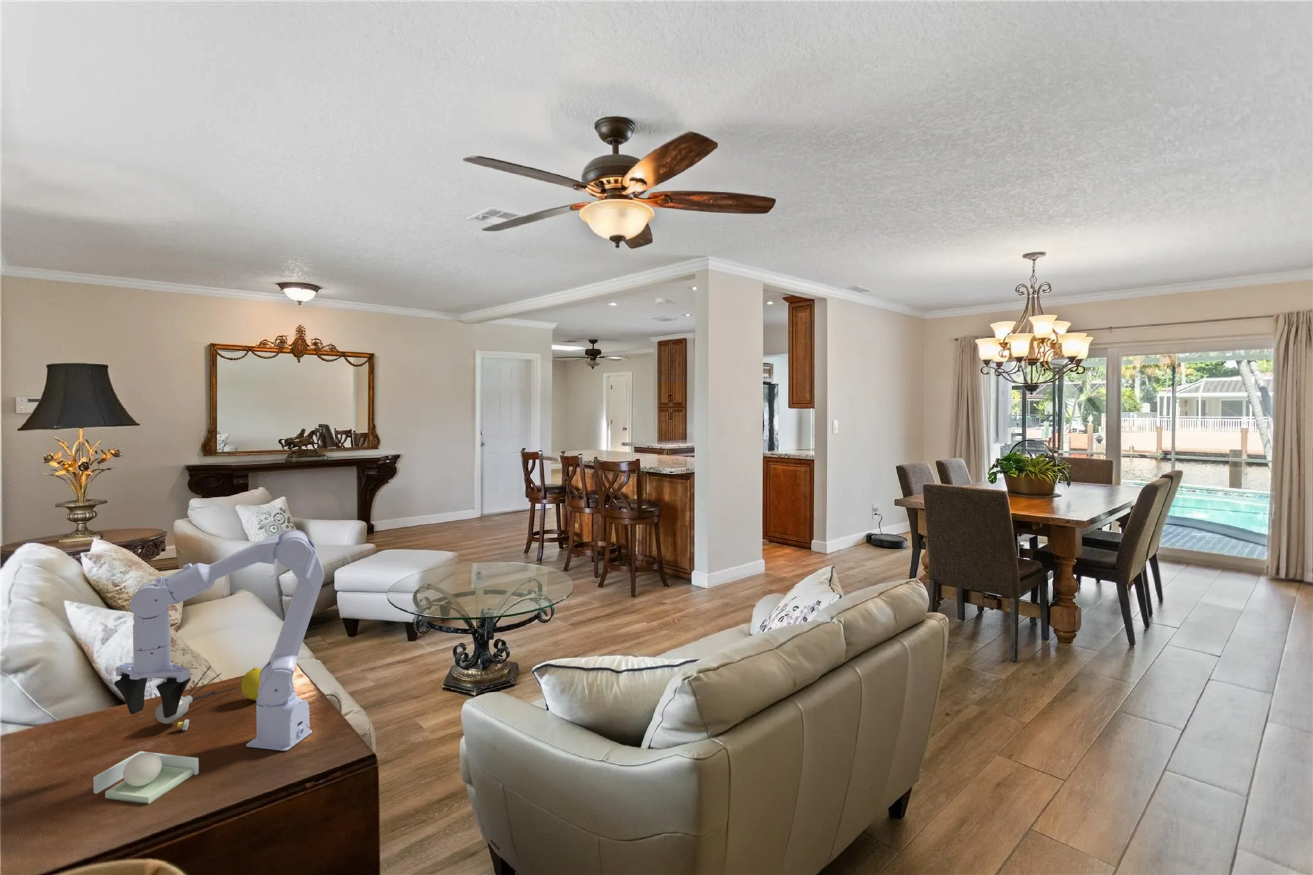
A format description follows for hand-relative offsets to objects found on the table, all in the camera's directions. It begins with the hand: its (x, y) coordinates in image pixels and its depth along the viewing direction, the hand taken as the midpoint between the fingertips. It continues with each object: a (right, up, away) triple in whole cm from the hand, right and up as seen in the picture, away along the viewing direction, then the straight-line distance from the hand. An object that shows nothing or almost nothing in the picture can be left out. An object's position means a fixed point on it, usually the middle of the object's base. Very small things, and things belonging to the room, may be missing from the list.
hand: (153, 713), depth 125 cm
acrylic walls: (+3, -11, -5) cm, 12 cm away
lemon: (+2, -9, +28) cm, 30 cm away
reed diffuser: (-8, -7, +13) cm, 17 cm away
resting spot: (+4, -11, -6) cm, 13 cm away
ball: (+4, -10, -6) cm, 13 cm away
